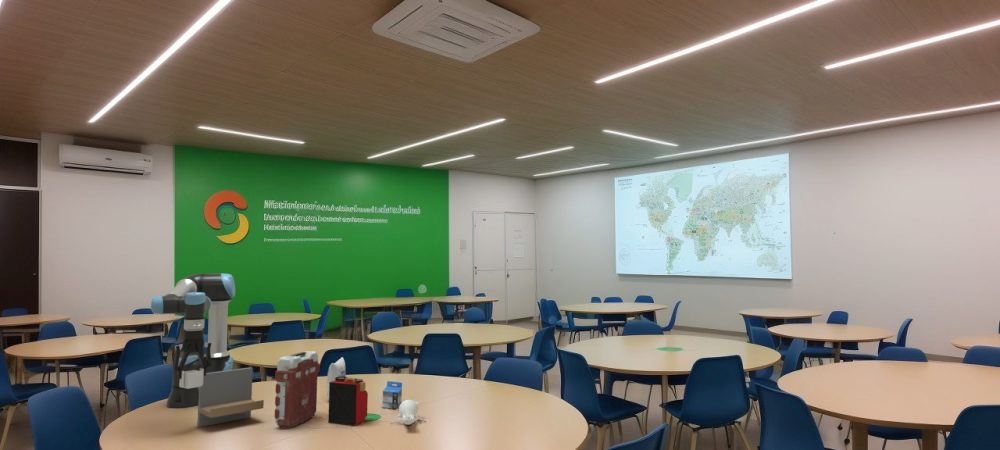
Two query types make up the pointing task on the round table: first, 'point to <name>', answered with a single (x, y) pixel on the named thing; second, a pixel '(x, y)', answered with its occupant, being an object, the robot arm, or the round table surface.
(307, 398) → the first aid kit
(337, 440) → the round table surface
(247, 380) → the board
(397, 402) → the label tape cartridge
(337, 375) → the pouch
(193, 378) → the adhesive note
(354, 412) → the radio
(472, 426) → the round table surface
